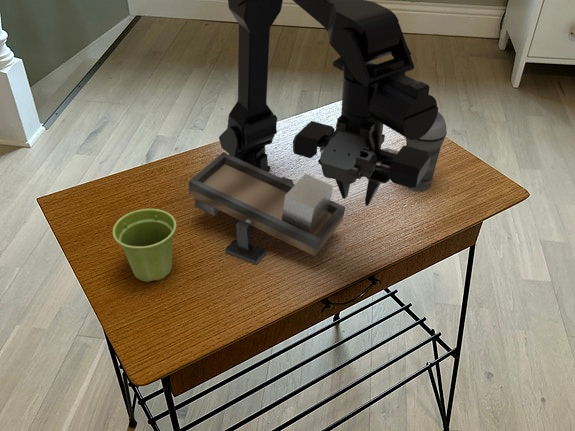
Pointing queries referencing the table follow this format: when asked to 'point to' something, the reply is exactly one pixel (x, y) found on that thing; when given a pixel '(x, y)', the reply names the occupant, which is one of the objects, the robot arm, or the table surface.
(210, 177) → the grey tray
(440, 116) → the beverage cup
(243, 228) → the stand
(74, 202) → the table surface
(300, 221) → the steel rider
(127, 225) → the plant pot
